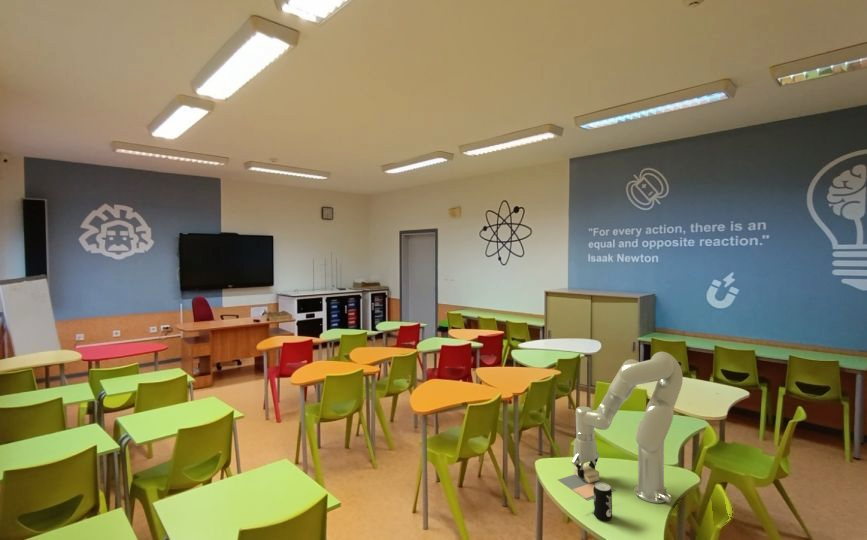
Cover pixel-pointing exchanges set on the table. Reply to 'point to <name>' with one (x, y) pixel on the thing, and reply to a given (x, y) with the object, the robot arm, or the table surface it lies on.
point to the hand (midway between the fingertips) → (586, 475)
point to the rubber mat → (580, 486)
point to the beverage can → (602, 501)
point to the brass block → (588, 473)
